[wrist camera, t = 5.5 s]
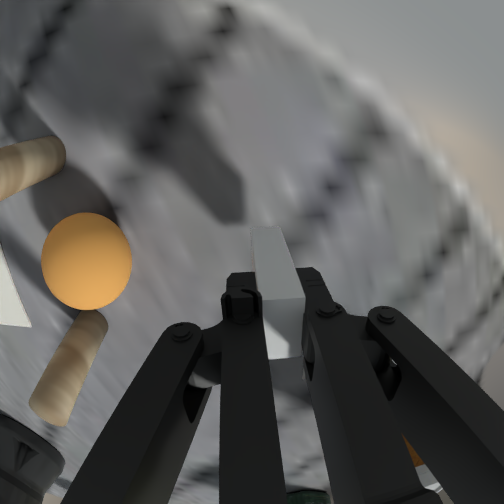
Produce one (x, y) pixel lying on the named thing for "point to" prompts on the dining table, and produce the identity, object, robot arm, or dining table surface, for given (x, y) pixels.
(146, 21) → the dining table surface
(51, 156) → the post
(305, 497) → the coffee jar
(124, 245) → the ball
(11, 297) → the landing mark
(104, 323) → the post
